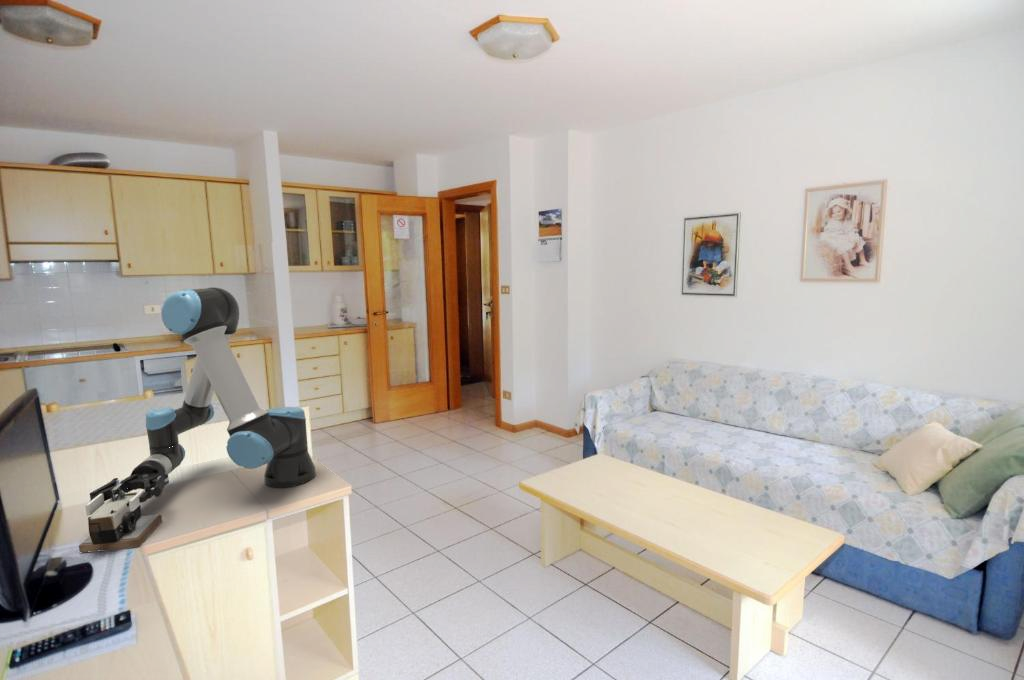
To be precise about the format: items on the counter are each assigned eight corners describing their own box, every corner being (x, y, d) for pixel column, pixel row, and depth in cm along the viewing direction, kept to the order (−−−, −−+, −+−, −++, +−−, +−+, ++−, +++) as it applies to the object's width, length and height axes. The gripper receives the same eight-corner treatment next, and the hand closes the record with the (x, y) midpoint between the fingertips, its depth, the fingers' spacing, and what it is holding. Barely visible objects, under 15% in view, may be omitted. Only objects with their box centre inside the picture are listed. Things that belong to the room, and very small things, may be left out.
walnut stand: (162, 521, 146) (161, 513, 145) (139, 546, 133) (138, 538, 133) (108, 526, 143) (107, 518, 143) (79, 553, 131) (78, 544, 130)
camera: (122, 542, 131) (117, 504, 129) (87, 546, 129) (81, 507, 128) (150, 513, 145) (145, 478, 144) (119, 517, 144) (114, 481, 142)
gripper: (193, 480, 157) (159, 517, 135) (111, 488, 153) (62, 527, 131) (190, 456, 156) (156, 489, 134) (107, 463, 152) (57, 498, 130)
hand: (109, 508), depth 133 cm, fingers open, 9 cm apart
